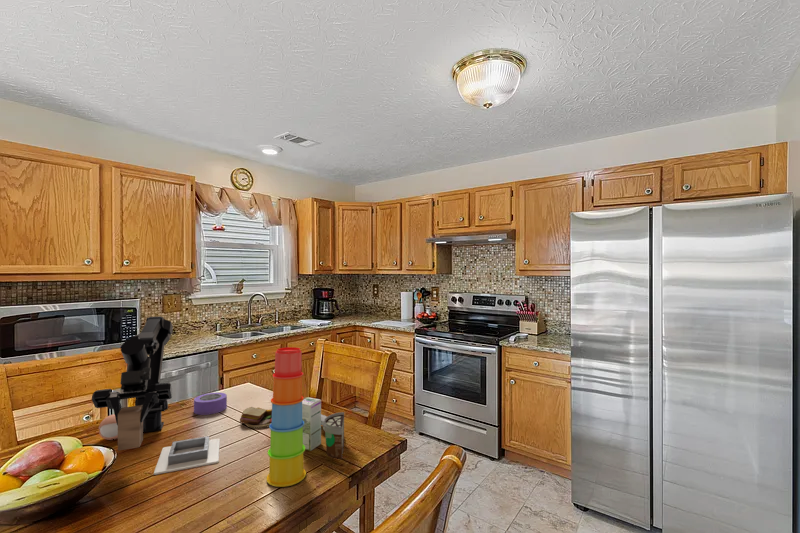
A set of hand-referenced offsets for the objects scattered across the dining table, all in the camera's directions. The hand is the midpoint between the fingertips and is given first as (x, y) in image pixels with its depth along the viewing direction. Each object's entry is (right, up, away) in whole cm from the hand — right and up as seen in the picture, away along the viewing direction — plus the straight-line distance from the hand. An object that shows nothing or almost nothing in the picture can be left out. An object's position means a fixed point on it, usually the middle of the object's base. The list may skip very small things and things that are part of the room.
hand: (129, 423), depth 106 cm
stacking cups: (+44, -14, -3) cm, 47 cm away
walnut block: (-1, -7, +1) cm, 7 cm away
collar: (+12, -13, +9) cm, 20 cm away
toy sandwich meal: (+24, -14, +34) cm, 44 cm away
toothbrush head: (+46, -14, +29) cm, 57 cm away
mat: (+12, -13, +9) cm, 20 cm away
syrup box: (+46, -14, +16) cm, 51 cm away
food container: (+54, -14, +12) cm, 57 cm away
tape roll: (0, -14, +46) cm, 48 cm away
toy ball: (-20, -14, +20) cm, 31 cm away
